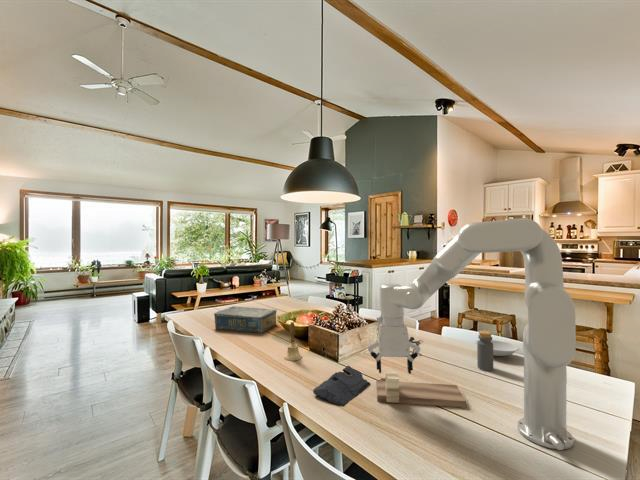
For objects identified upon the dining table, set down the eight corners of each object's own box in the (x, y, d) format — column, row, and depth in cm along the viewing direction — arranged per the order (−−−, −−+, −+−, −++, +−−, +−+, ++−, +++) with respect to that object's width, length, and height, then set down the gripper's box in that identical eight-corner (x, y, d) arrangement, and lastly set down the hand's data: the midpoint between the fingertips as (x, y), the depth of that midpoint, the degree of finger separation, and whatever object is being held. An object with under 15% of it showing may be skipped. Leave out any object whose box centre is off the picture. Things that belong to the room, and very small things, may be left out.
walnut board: (466, 407, 100) (466, 401, 100) (377, 401, 104) (377, 395, 104) (456, 390, 111) (456, 385, 111) (376, 385, 115) (376, 380, 115)
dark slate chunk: (305, 396, 109) (305, 382, 109) (339, 373, 127) (339, 361, 127) (343, 410, 100) (343, 395, 100) (373, 383, 118) (373, 371, 118)
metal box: (233, 320, 208) (233, 305, 208) (277, 324, 198) (277, 308, 197) (213, 329, 188) (212, 313, 187) (261, 334, 177) (260, 317, 177)
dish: (472, 356, 142) (472, 345, 142) (477, 347, 154) (477, 337, 154) (518, 365, 132) (518, 353, 132) (519, 354, 144) (519, 343, 144)
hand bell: (283, 361, 139) (282, 325, 139) (284, 354, 147) (284, 320, 147) (301, 360, 139) (301, 324, 139) (302, 353, 147) (302, 319, 147)
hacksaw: (410, 338, 168) (410, 336, 168) (430, 341, 163) (430, 339, 163) (398, 353, 147) (398, 350, 147) (420, 357, 142) (420, 354, 142)
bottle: (495, 371, 126) (495, 334, 126) (479, 370, 127) (479, 333, 127) (490, 365, 132) (490, 330, 132) (475, 364, 133) (475, 329, 133)
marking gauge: (399, 402, 102) (399, 380, 102) (386, 401, 103) (386, 379, 103) (396, 387, 112) (396, 367, 112) (384, 387, 113) (384, 366, 113)
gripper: (366, 324, 103) (368, 376, 103) (420, 323, 100) (423, 377, 100) (366, 318, 110) (368, 366, 110) (417, 318, 108) (419, 367, 108)
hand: (394, 371), depth 105 cm, fingers open, 9 cm apart
